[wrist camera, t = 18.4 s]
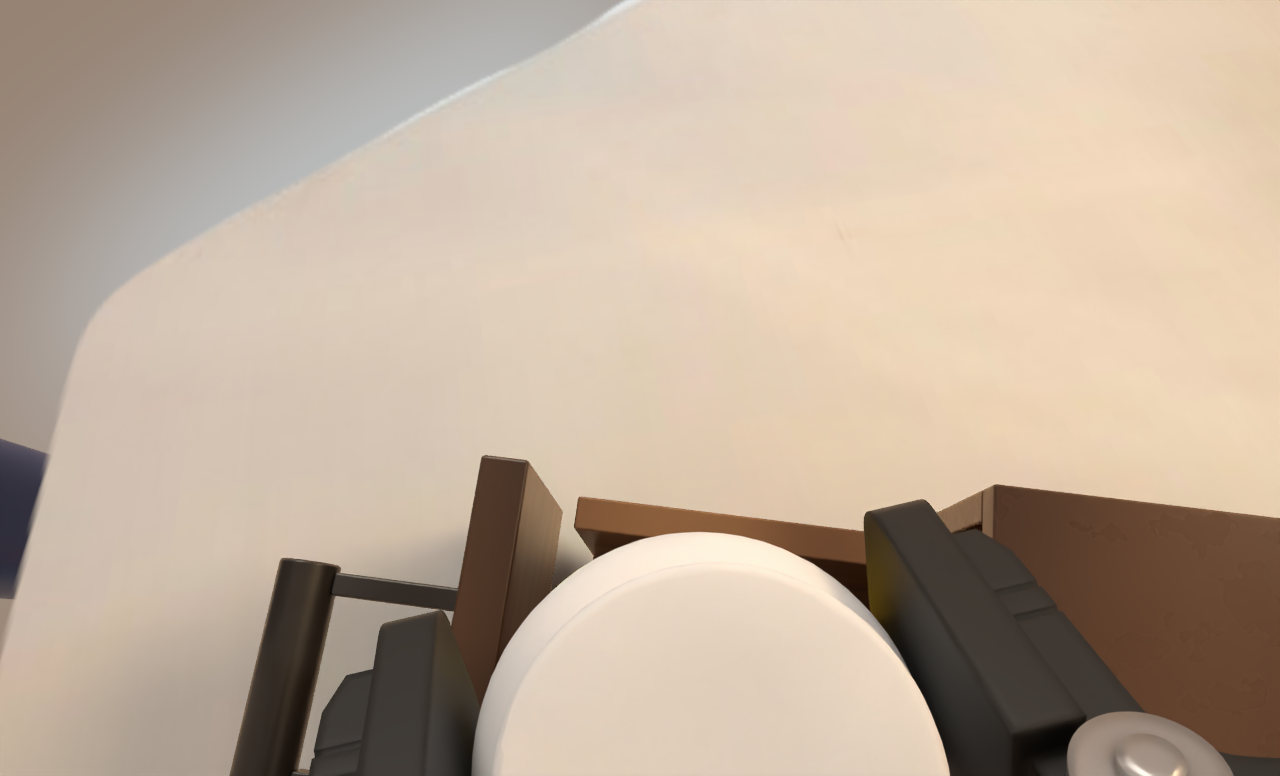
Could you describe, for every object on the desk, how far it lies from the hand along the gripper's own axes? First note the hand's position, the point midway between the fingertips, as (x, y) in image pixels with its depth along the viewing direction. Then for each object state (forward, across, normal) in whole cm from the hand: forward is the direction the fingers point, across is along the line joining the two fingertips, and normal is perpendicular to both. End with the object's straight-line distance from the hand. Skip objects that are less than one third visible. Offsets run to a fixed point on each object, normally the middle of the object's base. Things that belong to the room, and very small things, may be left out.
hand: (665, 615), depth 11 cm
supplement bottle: (+3, 0, +6) cm, 7 cm away
